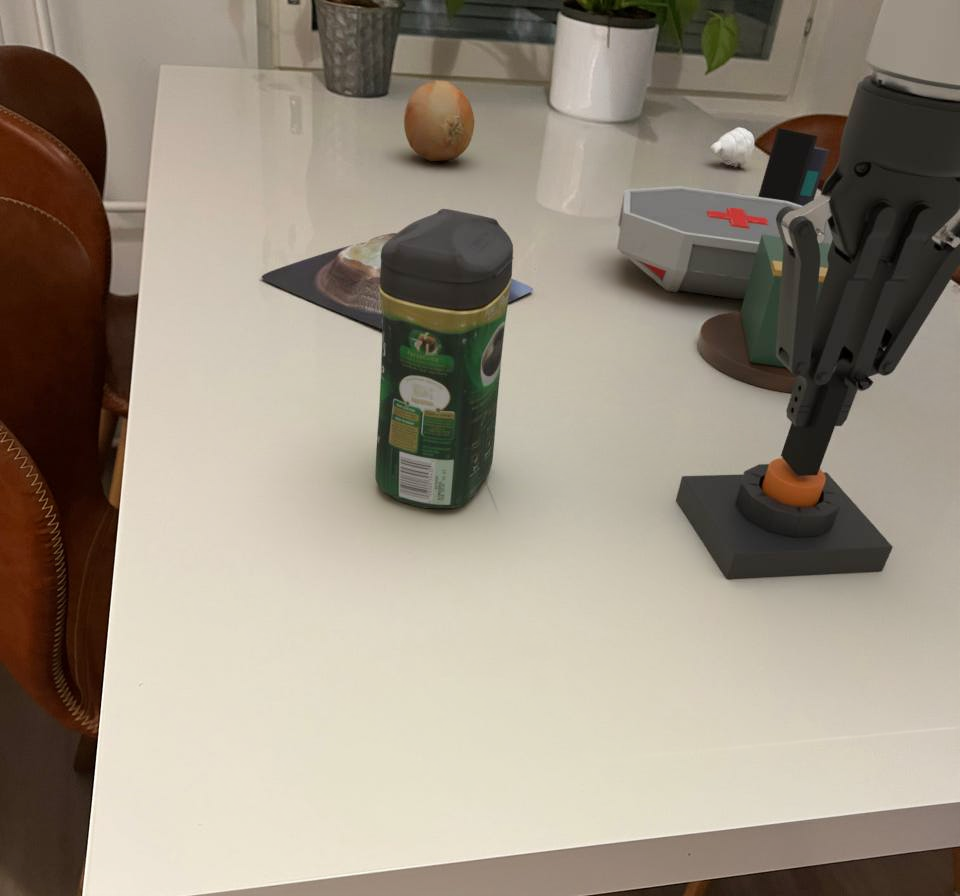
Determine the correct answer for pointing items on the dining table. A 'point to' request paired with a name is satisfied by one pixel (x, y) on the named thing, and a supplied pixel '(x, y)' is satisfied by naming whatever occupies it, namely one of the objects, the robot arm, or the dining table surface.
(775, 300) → the box
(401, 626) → the dining table surface
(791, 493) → the button
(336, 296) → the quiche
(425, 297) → the coffee jar
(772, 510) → the button block
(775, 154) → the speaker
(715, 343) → the turntable base
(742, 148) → the garlic bulb
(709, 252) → the first aid kit
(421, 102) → the onion
